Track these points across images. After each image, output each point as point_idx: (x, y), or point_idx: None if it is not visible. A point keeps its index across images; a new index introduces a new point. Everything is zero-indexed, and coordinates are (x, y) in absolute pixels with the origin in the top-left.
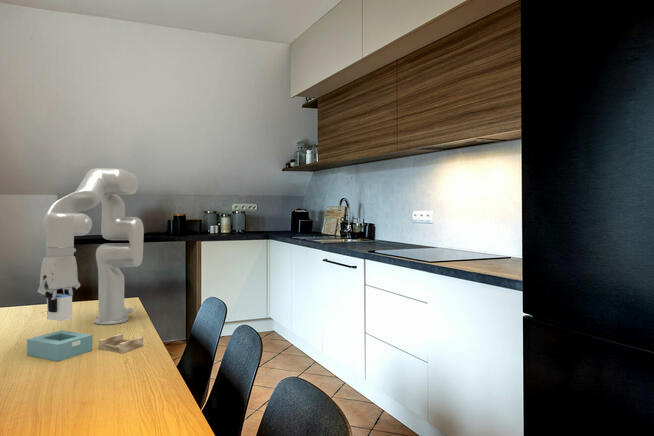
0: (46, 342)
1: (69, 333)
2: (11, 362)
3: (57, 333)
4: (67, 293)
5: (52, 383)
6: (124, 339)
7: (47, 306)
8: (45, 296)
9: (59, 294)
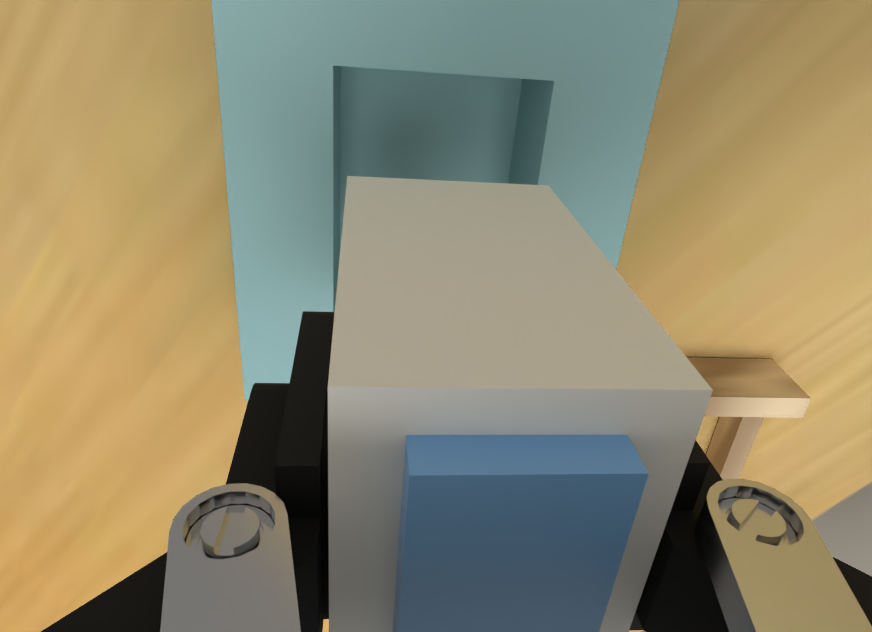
0: (236, 261)
1: (576, 183)
2: (42, 3)
3: (539, 56)
4: (714, 626)
5: (24, 573)
6: (755, 423)
7: (341, 268)
8: (88, 625)
9: (528, 603)
